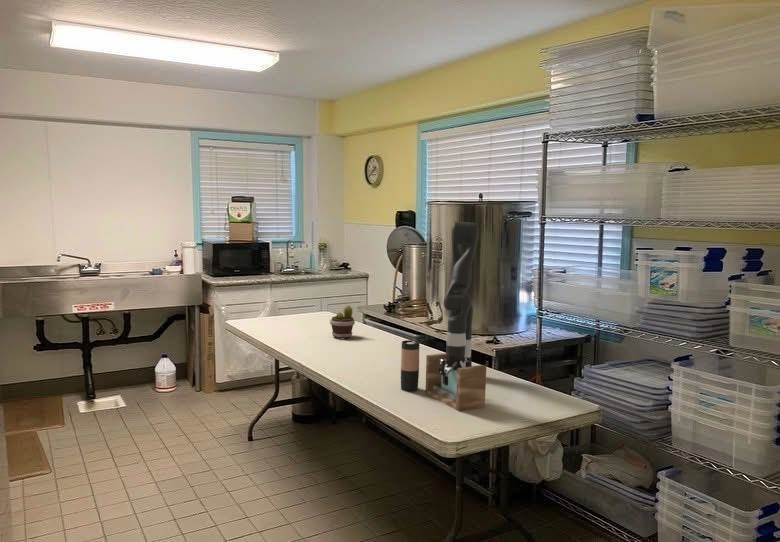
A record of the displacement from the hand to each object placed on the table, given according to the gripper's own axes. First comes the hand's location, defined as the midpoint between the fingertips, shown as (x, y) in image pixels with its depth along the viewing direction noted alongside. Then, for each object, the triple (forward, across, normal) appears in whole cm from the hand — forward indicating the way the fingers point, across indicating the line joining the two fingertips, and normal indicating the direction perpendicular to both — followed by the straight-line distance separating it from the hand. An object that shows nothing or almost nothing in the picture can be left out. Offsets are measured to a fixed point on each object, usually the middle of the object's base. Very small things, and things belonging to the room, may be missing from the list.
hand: (454, 383), depth 233 cm
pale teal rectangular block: (+5, 0, 0) cm, 5 cm away
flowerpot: (+7, -6, -125) cm, 125 cm away
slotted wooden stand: (+7, 0, 0) cm, 7 cm away
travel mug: (+7, +9, -20) cm, 23 cm away
